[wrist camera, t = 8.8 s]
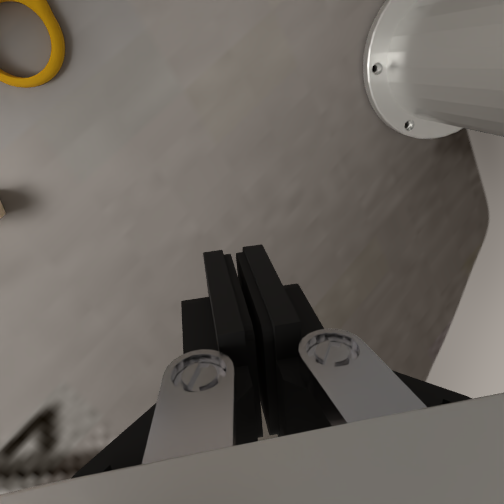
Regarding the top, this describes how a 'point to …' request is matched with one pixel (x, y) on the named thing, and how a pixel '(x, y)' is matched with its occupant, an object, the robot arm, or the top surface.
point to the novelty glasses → (43, 10)
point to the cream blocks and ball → (1, 210)
